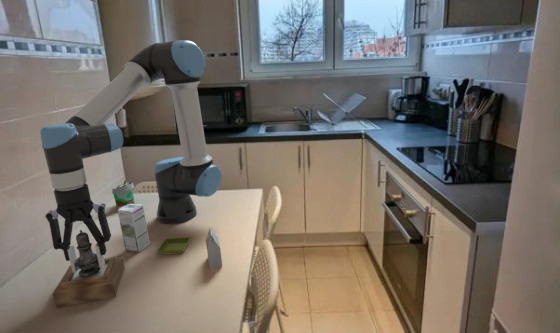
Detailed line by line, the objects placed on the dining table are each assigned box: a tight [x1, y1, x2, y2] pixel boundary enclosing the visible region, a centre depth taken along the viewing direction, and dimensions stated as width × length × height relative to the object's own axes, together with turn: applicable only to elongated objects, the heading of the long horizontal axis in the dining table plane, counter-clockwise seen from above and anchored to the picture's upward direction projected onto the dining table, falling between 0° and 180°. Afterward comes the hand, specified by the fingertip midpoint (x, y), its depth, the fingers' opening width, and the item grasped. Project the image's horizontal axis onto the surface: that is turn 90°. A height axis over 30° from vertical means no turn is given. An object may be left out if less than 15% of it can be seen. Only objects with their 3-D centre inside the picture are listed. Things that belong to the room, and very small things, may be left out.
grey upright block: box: [205, 227, 223, 269], centre depth 105 cm, size 4×7×10 cm, turn 14°
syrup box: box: [117, 203, 151, 253], centre depth 116 cm, size 6×6×14 cm
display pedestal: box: [52, 256, 126, 309], centre depth 97 cm, size 14×14×5 cm
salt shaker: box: [75, 229, 101, 276], centre depth 95 cm, size 6×6×12 cm
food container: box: [111, 180, 135, 211], centre depth 155 cm, size 12×6×10 cm, turn 179°
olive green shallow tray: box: [156, 236, 191, 255], centre depth 116 cm, size 9×9×2 cm
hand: (89, 267), depth 96 cm, fingers closed on salt shaker, 6 cm apart
